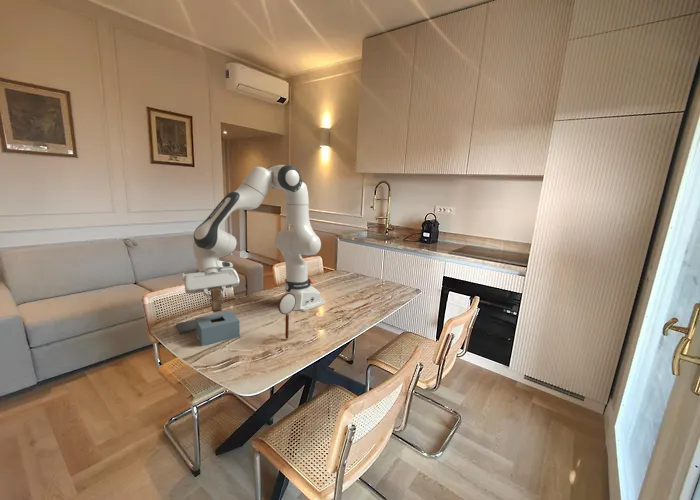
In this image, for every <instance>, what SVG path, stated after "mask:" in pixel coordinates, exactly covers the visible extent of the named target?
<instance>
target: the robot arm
mask: <svg viewBox="0 0 700 500" xmlns="http://www.w3.org/2000/svg"><path fill="white" fill-rule="evenodd" d="M271 189H275V190H280V191H283V192H284V194H285V218H286V222H287V223H289V224H290V225H291V227H292V229H293V230H290V229H289V230H286V229H285V230H281V231H278V232H277V233H276V235H275V237H274V244H275V247H276V248H277V249H278V250H279V251H280V253H281V255H282V258H283V260H284V264H285V279H284V291H285V292H284V293H285V294H287V293H292V294H293V295H294V296H295V298H296V304H295V307H294V309H293V310H292V311H301V312H307V311H310V310H311V309H315V308H318V307H320V306H323V305H325V304H326V301H325V299H324V298H322V296H321V292H320V291H319V290H318V289H317V288H316V287H314V286H313V285H314V283H315V280H314V279H310V278H308V277H309V264H308V263H307V262H306V261H305V260H304V259H303V256H302V255H304V256H313V255H315V256H316V255H318V253H319V252H320V250H321V248H322V241H321V239H320V237H319V236H318V235H317V234H316V232H315V231H314V229H313V227H312V224H311V221H310V209H309V208H310V206H309V205H310V200H309V199H310V198H309V191H308V185H307V184H306V183H305V182H304V181H303V179H302V177H301V174H300V171H299V170H298V168H296V167H295V166H294V165H289V164H278V165H271V166H269V167H267V168H265V167H263V166H254V167H253V168H252V169H251V170H249V173H247V175H246V177H244V179H243V181H242V182H241V184H240V185H239V187H238V188H237V189H236V190H234V191H230V192H228V194H226V195H225V196H224V197H223V198H222V199H221V201H220V202H218V204H217V206H216V207H215V208H214V209H213V211H211V213H210V214H209V215H208V216H207V217H206V219H205V220H203V222H202V223H201V224H199V225H198V226H197V227H196V229H195V230H194V232H193V241H192V243H193V244H192V249H193V254H194V258H195V260H196V264H195V265H196V268H197V269H196V270H191V271H189V270H188V271H185V272H183V273H182V275H181V278H182V281H183V282H184V292H185V293H186V294H188V295H189V294H190V295H191V294H196V293H197V294H198V293H203V295H204V296H205V297H206V298H207V301H210V302H211V300H212V299H213V297H212V295H211V293H209V292H211V289H212V288H220V289H221V300H222V299H225V291H226V289H231V288H236V287H238V286H239V284H240V277H239V274H238V272H237V270H236V269H235V268H233V266H234V265H233V263H232V262H230V261H229V262H228V261H224V260H220V259H221V258H222V259H223V258H225V257H228V256H230V255H231V254H233V253H234V252H235V250H237V248H238V241H237V237H235V236H234V235H233V234H231V233H229V232H227V231H225V230H223V229H221V227H222V225H223V224H224V222H225V221H226V220H227V219H228V217H229V216H230V215H231V214H232V213H233V212H235V211H236V210H246V211H252V210H256V209H257V208H259V207H260V206H261V205H262V203H263V201H264V199H265V198H266V195H267V194H268V192H269V191H270V190H271ZM285 294H284V295H285Z"/></svg>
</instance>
